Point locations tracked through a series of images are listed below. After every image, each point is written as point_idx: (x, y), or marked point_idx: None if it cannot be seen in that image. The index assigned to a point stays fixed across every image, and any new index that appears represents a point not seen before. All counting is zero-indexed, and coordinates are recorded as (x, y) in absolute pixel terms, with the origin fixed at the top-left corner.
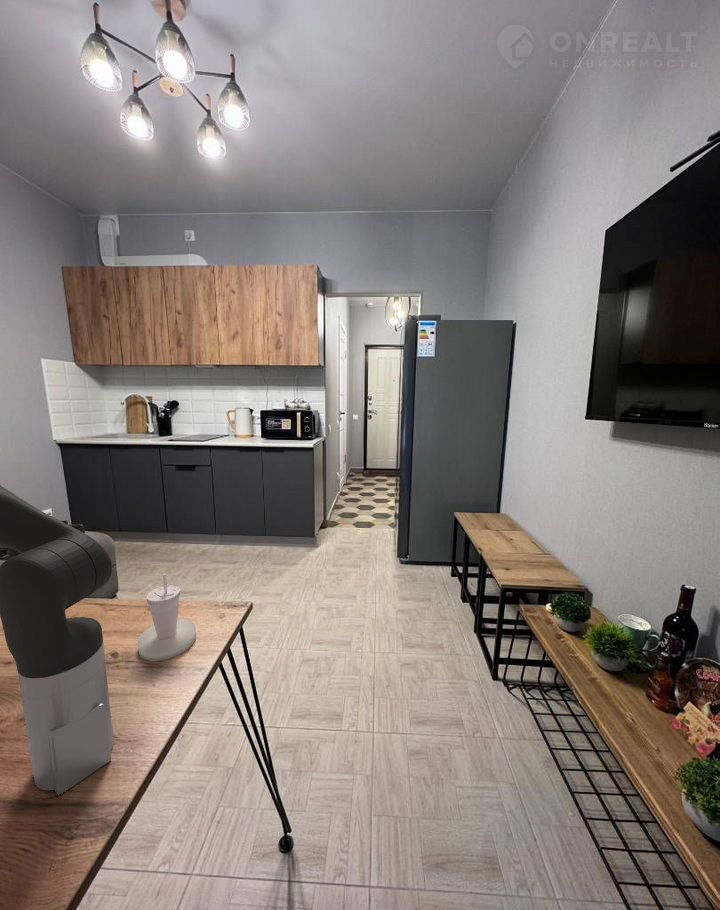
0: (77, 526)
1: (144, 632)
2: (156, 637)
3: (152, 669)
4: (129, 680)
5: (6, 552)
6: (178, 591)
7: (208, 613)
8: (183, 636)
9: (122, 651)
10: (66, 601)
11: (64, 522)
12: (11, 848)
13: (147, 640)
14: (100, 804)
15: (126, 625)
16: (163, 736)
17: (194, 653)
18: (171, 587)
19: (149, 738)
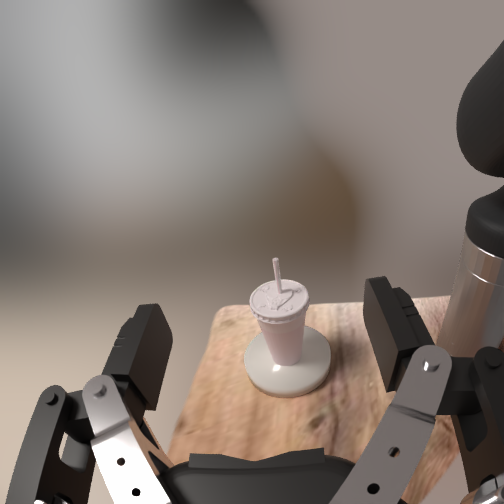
0: (152, 318)
1: (280, 387)
2: (295, 364)
3: (346, 355)
4: (369, 370)
5: (478, 446)
6: (275, 280)
7: (217, 340)
8: None
9: (308, 415)
10: None
11: (65, 394)
12: None
13: (302, 373)
14: None
15: (228, 447)
16: (424, 300)
17: (312, 325)
18: (257, 295)
19: (429, 309)
